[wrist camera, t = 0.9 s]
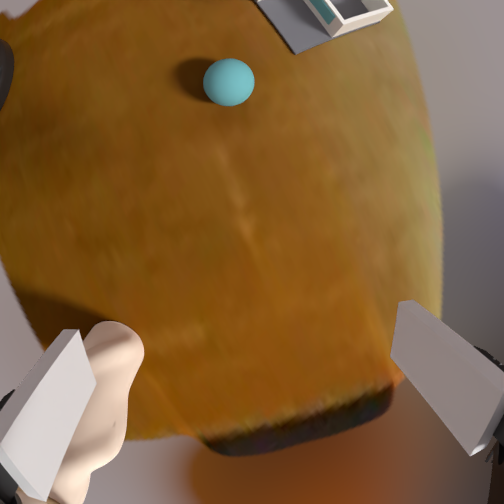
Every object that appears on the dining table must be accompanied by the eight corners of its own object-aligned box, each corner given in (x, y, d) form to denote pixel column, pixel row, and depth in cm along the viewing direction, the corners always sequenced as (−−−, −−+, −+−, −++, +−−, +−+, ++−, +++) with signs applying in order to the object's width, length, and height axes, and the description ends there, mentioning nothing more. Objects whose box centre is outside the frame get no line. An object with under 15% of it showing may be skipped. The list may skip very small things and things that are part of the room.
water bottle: (118, 390, 38) (60, 565, 11) (69, 348, 36) (-32, 507, 9) (163, 351, 37) (114, 564, 10) (109, 302, 35) (-15, 491, 8)
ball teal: (196, 82, 30) (191, 68, 25) (236, 59, 29) (238, 42, 25) (220, 118, 31) (219, 109, 26) (260, 95, 31) (267, 83, 26)
